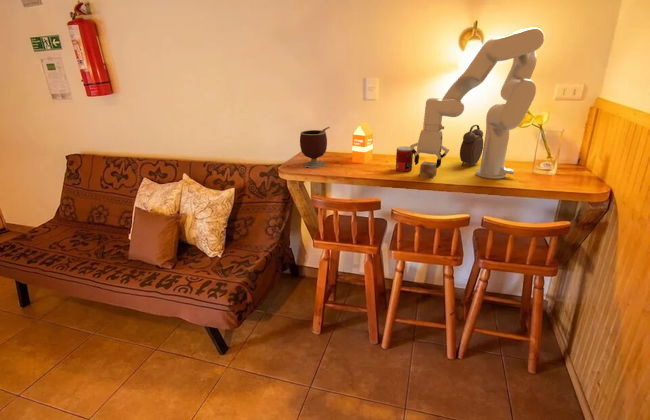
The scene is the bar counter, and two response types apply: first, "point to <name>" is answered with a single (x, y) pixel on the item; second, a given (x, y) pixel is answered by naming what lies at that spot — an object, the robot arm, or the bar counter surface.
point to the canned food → (404, 159)
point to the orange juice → (362, 144)
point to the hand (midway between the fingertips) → (426, 165)
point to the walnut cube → (428, 170)
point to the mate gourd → (313, 146)
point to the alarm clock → (471, 146)
